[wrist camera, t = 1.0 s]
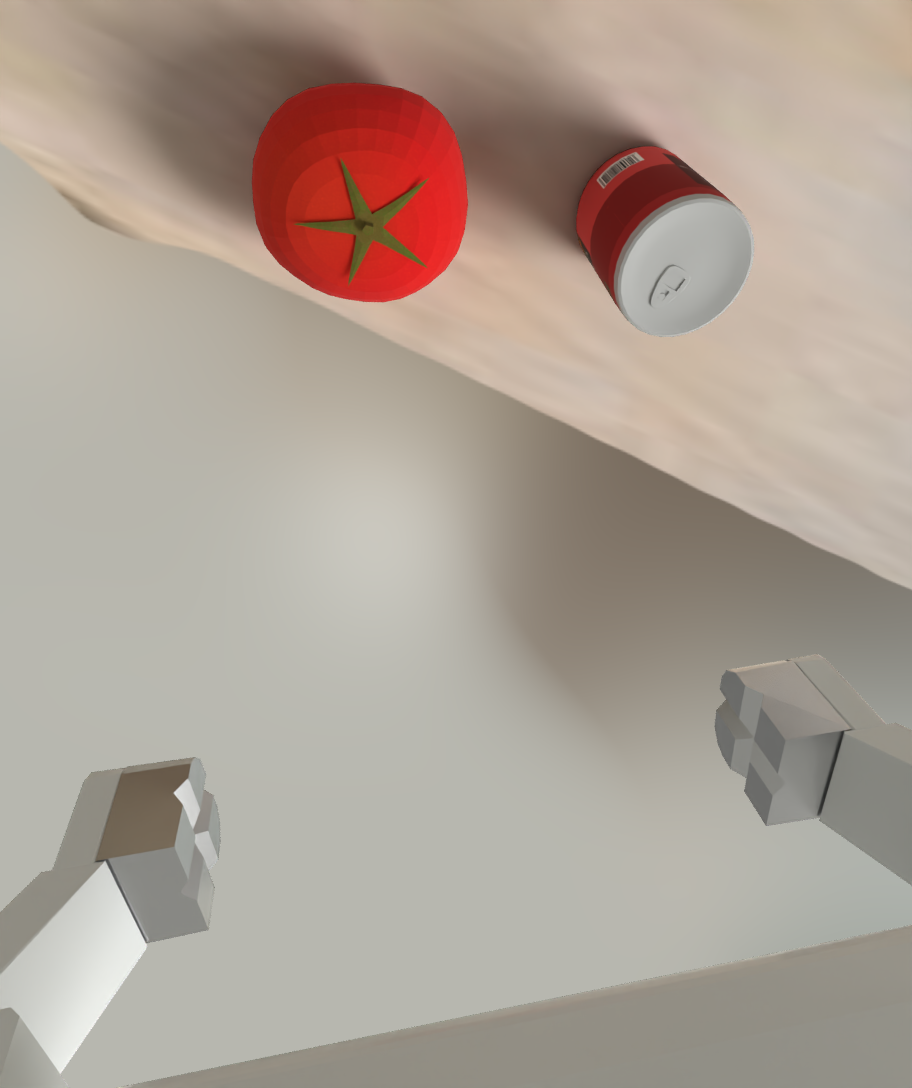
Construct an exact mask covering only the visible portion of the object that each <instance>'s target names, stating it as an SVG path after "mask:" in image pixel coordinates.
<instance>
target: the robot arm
mask: <svg viewBox="0 0 912 1088" xmlns="http://www.w3.org/2000/svg"><path fill="white" fill-rule="evenodd" d="M720 690H721V692H722V693H723V695H724V696H725V698H726V700H725V701H724V702H723V704H722V705H721V706H720V707H719V708H718V709H717V710H716V719H715V731H716V736H717V742H718V745H719V748H720V750H721V753H722V756H723V757H724V759H725V761H726V762H727V764H728V766H729V767H730V769H732V770H733V771H735V772H737V773H739V774H741V775H742V776H744V777H745V778H747V779H746V785H745V790H744V792H745V793H746V795H747V796H748V798H749V799H750V801H751V803H752V804H753V806H754V808H755V809H756V811H757V812H758V814H759V815H760V817H761V818H762V820H763V822H764V823H765V825H766V826H769V825H776V824H782V823H788V822H794V821H801V820H808V819H814V818H820V819H819V821H821V822H822V823H824V824H825V825H826V826H828V827H829V828H831V829H832V830H834V831H835V832H836V833H838V834H839V835H841V836H842V837H844V838H845V839H846V840H848V841H849V842H851V843H852V844H854V845H855V846H856V847H858V848H859V849H860V850H862V851H864V852H865V853H866V854H868V855H869V856H870V857H872V858H873V859H875V860H876V861H878V862H879V863H880V864H882V865H883V866H885V867H886V868H887V869H889V870H891V871H892V872H893V873H895V874H896V875H897V876H899V877H900V878H902V879H903V880H905V881H906V882H908V883H909V884H910V885H912V730H910V729H908V728H906V727H904V726H901V725H899V724H897V723H892V724H886V723H885V722H884V721H883V720H882V719H881V718H880V717H879V716H878V714H877V713H875V711H874V710H873V709H872V708H871V707H870V706H869V705H868V704H867V703H866V702H865V700H864V699H863V698H862V697H861V696H860V695H859V694H858V693H857V692H856V691H855V690H854V689H853V688H852V686H851V685H850V684H849V683H848V682H847V681H846V680H845V679H844V678H843V677H842V676H841V675H840V674H839V672H837V670H836V669H835V668H834V667H833V666H832V665H831V664H830V663H829V662H828V661H827V660H826V659H825V658H824V657H822V656H820V655H818V654H815V655H809V656H804V657H798V658H792V659H787V660H785V661H783V660H782V661H776V662H770V663H764V664H759V665H753V666H747V667H741V668H735V669H730V670H726V671H725V673H724V675H723V676H722V679H721V685H720ZM205 778H206V773H205V771H204V768H203V765H202V763H201V760H200V759H199V758H196V757H193V758H186V759H179V760H172V761H164V762H157V763H151V764H144V765H136V766H128V767H126V768H120V769H112V770H105V771H97V772H91V774H90V775H89V776H88V777H87V778H86V779H85V781H84V782H83V785H82V788H81V790H80V793H79V796H78V799H77V802H76V805H75V807H74V810H73V813H72V816H71V819H70V821H69V824H68V827H67V830H66V833H65V836H64V838H63V841H62V844H61V847H60V850H59V853H58V855H57V858H56V861H55V864H54V867H53V869H52V870H51V871H45V872H41V873H40V874H39V875H38V876H37V877H36V878H35V879H34V880H33V881H32V882H31V883H30V884H29V885H28V886H27V887H26V888H25V889H24V890H23V891H22V892H21V893H19V894H18V896H17V897H15V898H14V899H13V900H12V901H11V902H10V903H9V904H8V905H7V906H6V907H5V908H4V909H3V910H2V911H1V912H0V1088H70V1087H69V1086H68V1084H67V1083H66V1081H65V1080H64V1078H63V1077H62V1076H61V1072H62V1071H63V1069H64V1068H65V1066H66V1065H67V1063H68V1062H69V1061H70V1059H71V1058H72V1056H73V1055H74V1053H75V1052H76V1050H77V1049H78V1047H79V1046H80V1044H81V1043H82V1042H83V1040H84V1039H85V1037H86V1036H87V1034H88V1033H89V1031H90V1030H91V1028H92V1027H93V1025H94V1024H95V1022H96V1021H97V1020H98V1018H99V1017H100V1015H101V1014H102V1012H103V1011H104V1009H105V1008H106V1006H107V1005H108V1003H109V1002H110V1001H111V999H112V998H113V996H114V995H115V993H116V992H117V990H118V989H119V988H120V986H121V985H122V983H123V982H124V980H125V979H126V977H127V976H128V974H129V973H130V972H131V970H132V969H133V967H134V965H135V964H136V963H137V961H138V960H139V958H140V957H141V955H142V954H143V952H144V951H145V949H146V948H147V945H146V943H150V942H155V941H159V940H164V939H169V938H173V937H178V936H183V935H187V934H192V933H196V932H201V931H206V930H208V929H209V923H210V916H211V909H212V902H213V895H214V888H215V887H214V884H213V881H212V879H211V876H210V873H209V870H210V869H211V868H212V867H213V865H214V864H215V863H216V862H217V860H218V858H219V849H220V819H219V814H218V809H217V805H216V802H215V799H214V796H213V795H212V794H211V793H209V792H207V791H206V790H204V784H205ZM118 1088H912V925H909V926H904V927H898V928H893V929H889V930H884V931H879V932H875V933H869V934H864V935H859V936H854V937H850V938H845V939H840V940H835V941H830V942H825V943H820V944H815V945H811V946H806V947H801V948H796V949H791V950H786V951H782V952H776V953H772V954H767V955H762V956H757V957H752V958H748V959H742V960H738V961H733V962H728V963H723V964H718V965H713V966H708V967H704V968H699V969H694V970H689V971H685V972H679V973H674V974H670V975H665V976H660V977H655V978H650V979H645V980H640V981H636V982H631V983H626V984H621V985H616V986H611V987H606V988H601V989H597V990H592V991H587V992H582V993H577V994H572V995H568V996H562V997H558V998H553V999H548V1000H544V1001H538V1002H534V1003H528V1004H524V1005H519V1006H514V1007H509V1008H504V1009H499V1010H495V1011H489V1012H484V1013H480V1014H475V1015H470V1016H465V1017H461V1018H455V1019H450V1020H445V1021H440V1022H436V1023H431V1024H426V1025H421V1026H416V1027H412V1028H406V1029H401V1030H397V1031H392V1032H387V1033H382V1034H377V1035H372V1036H367V1037H362V1038H358V1039H353V1040H348V1041H343V1042H338V1043H333V1044H328V1045H324V1046H318V1047H314V1048H309V1049H304V1050H299V1051H294V1052H289V1053H284V1054H279V1055H274V1056H270V1057H265V1058H260V1059H255V1060H250V1061H245V1062H240V1063H235V1064H231V1065H226V1066H221V1067H216V1068H211V1069H207V1070H201V1071H197V1072H191V1073H187V1074H182V1075H177V1076H173V1077H167V1078H163V1079H157V1080H152V1081H147V1082H143V1083H138V1084H133V1085H128V1086H123V1087H118Z"/></svg>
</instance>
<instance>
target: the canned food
mask: <svg viewBox="0 0 912 1088" xmlns="http://www.w3.org/2000/svg"><path fill="white" fill-rule="evenodd" d="M576 228H577V235H578V240H579V243H580V245H581V247H582V250H583V252H584V253H585V255H586V256H587V258H588V260H589V261H590V263H591V265H592V266H593V268H594V270H595V271H596V273H597V274H598V276H599V278H600V279H601V281H602V283H603V284H604V286H605V288H606V289H607V291H608V292H609V294H610V296H611V297H612V299H613V301H614V302H615V304H616V305H617V306H618V308H619V310H620V311H621V312H622V314H623V315H624V316H625V318H626V319H627V320H628V321H629V322H630V323H631V324H632V325H633V326H635V327H636V328H637V329H639V330H640V331H642V332H645V333H647V334H649V335H654V336H659V337H674V336H679V335H684V334H687V333H690V332H693V331H695V330H698V329H700V328H701V327H703V326H705V325H707V324H708V323H710V322H712V321H713V320H714V319H715V318H717V317H718V316H719V315H721V314H722V313H723V312H724V311H725V310H726V309H727V308H728V307H729V306H730V305H731V304H732V302H733V301H734V300H735V298H736V297H737V296H738V294H739V293H740V291H741V290H742V288H743V286H744V284H745V282H746V280H747V278H748V275H749V272H750V269H751V266H752V262H753V256H754V238H753V234H752V231H751V227H750V225H749V223H748V221H747V220H746V218H745V216H744V215H743V214H742V212H741V211H740V210H739V209H738V208H737V207H736V206H735V205H734V204H733V203H732V202H731V201H730V200H729V199H728V198H727V197H726V196H725V195H723V194H722V193H721V192H720V191H719V190H717V189H716V188H715V187H714V186H712V185H711V184H710V183H709V182H708V181H706V180H705V179H704V178H703V177H702V176H700V175H699V174H698V173H697V172H695V171H694V170H693V169H692V168H691V167H689V166H688V165H687V164H686V163H685V162H683V161H682V160H681V159H680V158H678V157H677V156H676V155H675V154H673V153H671V152H669V151H668V150H666V149H662V148H658V147H638V148H633V149H628V150H626V151H623V152H621V153H619V154H616V155H615V156H613V157H612V158H610V159H609V160H607V161H606V162H605V163H604V164H603V165H602V166H601V167H600V168H599V169H597V171H596V172H595V173H594V174H593V176H592V177H591V178H590V180H589V181H588V183H587V185H586V187H585V189H584V190H583V193H582V196H581V199H580V202H579V206H578V212H577V218H576Z"/></svg>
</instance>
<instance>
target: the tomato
mask: <svg viewBox="0 0 912 1088" xmlns="http://www.w3.org/2000/svg"><path fill="white" fill-rule="evenodd" d="M252 190H253V204H254V211H255V217H256V224H257V226H258V229H259V231H260V234H261V236H262V239H263V242H264V244H265V246H266V248H267V249H268V250H269V252H270V253H271V254H272V255H273V256H274V258H275V259H276V260H277V261H278V263H279V264H280V265H282V266H283V267H284V268H285V269H286V270H288V271H289V272H290V273H291V274H292V275H294V276H295V277H297V278H298V279H300V280H301V281H303V282H304V283H306V284H307V285H309V286H310V287H312V288H314V289H316V290H319V291H321V292H323V293H326V294H328V295H331V296H335V297H340V298H344V299H349V300H356V301H363V302H386V301H392V300H397V299H401V298H403V297H406V296H408V295H410V294H413V293H415V292H417V291H418V290H420V289H422V288H423V287H425V286H426V285H428V284H429V283H431V282H432V281H433V280H434V279H435V278H436V277H437V276H439V275H440V274H441V273H442V272H443V271H444V270H446V268H447V267H448V265H449V264H450V262H451V261H452V259H453V258H454V257H455V255H456V254H457V252H458V250H459V246H460V243H461V240H462V237H463V234H464V230H465V224H466V216H467V208H468V199H467V186H466V177H465V171H464V165H463V159H462V154H461V151H460V148H459V145H458V142H457V139H456V136H455V133H454V131H453V130H452V128H451V127H450V125H449V124H448V122H447V121H446V119H445V118H444V116H443V115H442V113H441V112H440V111H439V110H438V109H437V108H435V107H434V106H433V105H432V104H430V103H429V102H428V101H427V100H425V99H424V98H423V97H422V96H420V95H417V94H414V93H412V92H409V91H407V90H404V89H402V88H397V87H391V86H385V85H378V84H364V83H338V84H328V85H323V86H318V87H313V88H308V89H306V90H304V91H302V92H301V93H299V94H297V95H295V96H293V97H291V98H289V99H288V100H287V101H286V102H285V103H284V104H283V105H282V106H281V107H280V108H279V109H278V110H277V111H276V112H275V113H274V114H273V115H272V116H271V118H270V120H269V122H268V123H267V125H266V127H265V129H264V131H263V133H262V135H261V137H260V139H259V142H258V145H257V149H256V152H255V156H254V159H253V173H252Z"/></svg>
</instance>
